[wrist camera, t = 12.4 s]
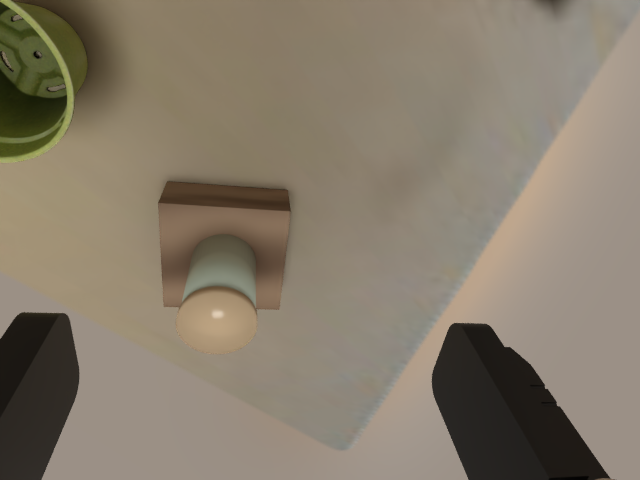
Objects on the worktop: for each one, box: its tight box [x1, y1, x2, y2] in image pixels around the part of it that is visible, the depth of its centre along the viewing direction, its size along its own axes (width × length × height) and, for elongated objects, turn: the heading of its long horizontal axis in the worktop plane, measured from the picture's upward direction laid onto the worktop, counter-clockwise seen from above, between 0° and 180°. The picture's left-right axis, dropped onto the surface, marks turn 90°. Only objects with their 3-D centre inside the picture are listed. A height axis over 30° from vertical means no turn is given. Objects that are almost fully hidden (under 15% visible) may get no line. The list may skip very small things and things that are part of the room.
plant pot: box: [0, 0, 88, 163], centre depth 27 cm, size 9×9×9 cm
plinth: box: [158, 182, 291, 310], centre depth 38 cm, size 10×10×4 cm
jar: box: [176, 234, 257, 354], centre depth 33 cm, size 5×5×8 cm
